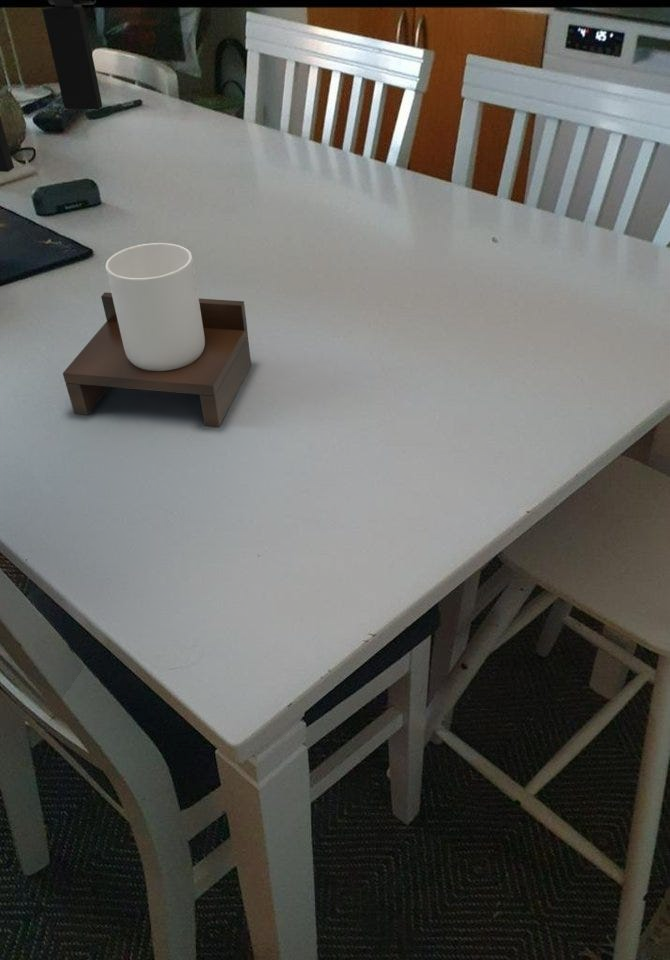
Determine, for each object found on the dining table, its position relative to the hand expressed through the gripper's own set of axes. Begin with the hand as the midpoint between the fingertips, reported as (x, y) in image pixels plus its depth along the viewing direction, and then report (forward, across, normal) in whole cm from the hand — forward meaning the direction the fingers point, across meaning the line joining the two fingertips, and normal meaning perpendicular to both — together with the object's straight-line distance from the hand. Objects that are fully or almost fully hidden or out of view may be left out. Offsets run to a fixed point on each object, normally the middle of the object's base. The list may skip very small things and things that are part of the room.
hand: (41, 136), depth 55 cm
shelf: (+31, +17, +2) cm, 36 cm away
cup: (+27, +17, +3) cm, 32 cm away
